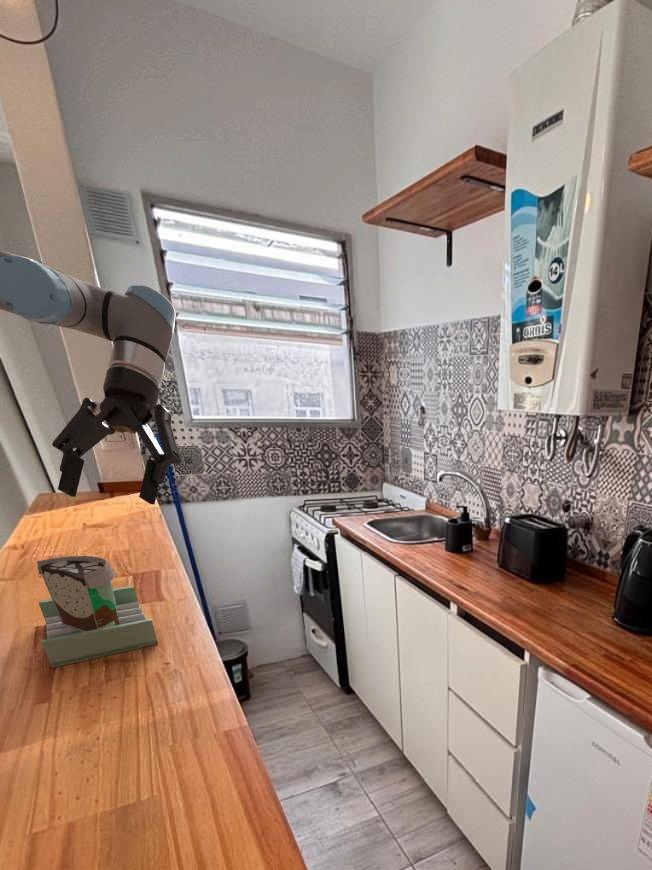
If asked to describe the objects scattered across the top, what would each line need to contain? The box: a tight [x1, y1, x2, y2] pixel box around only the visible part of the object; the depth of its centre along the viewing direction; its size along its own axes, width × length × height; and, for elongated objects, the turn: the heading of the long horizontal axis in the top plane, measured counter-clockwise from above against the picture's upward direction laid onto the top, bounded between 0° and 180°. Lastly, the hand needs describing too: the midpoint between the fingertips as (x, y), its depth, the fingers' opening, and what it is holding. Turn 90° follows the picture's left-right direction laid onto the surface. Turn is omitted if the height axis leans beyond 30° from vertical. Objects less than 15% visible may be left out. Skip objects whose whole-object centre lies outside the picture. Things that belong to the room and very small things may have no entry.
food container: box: [36, 555, 120, 632], centre depth 77 cm, size 12×6×10 cm, turn 64°
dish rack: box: [38, 585, 159, 669], centre depth 80 cm, size 18×13×4 cm
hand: (106, 497), depth 84 cm, fingers open, 13 cm apart
